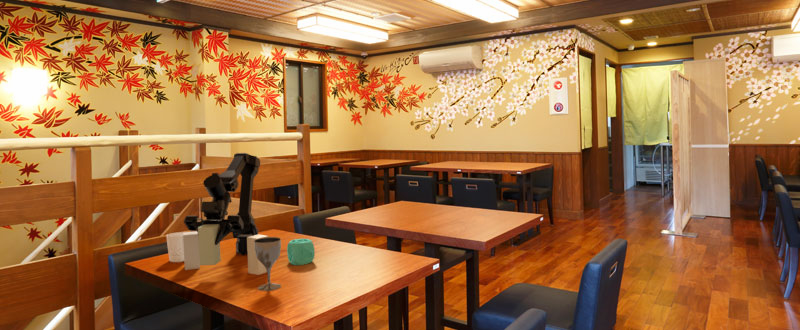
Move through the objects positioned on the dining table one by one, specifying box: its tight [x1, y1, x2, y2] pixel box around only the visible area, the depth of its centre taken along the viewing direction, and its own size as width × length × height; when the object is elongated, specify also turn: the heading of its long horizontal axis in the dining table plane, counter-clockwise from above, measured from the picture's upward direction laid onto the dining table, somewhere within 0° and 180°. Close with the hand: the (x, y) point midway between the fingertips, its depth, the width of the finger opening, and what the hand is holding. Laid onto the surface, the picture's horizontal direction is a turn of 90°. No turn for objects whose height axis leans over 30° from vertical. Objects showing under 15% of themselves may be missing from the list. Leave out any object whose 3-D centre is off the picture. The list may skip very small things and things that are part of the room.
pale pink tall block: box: [182, 231, 201, 271], centre depth 180 cm, size 5×5×12 cm
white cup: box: [165, 231, 184, 263], centre depth 190 cm, size 8×8×10 cm
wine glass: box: [254, 236, 282, 292], centre depth 155 cm, size 8×8×15 cm
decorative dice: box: [286, 238, 316, 266], centre depth 184 cm, size 8×8×8 cm
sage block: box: [198, 224, 222, 266], centre depth 166 cm, size 5×5×12 cm
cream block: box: [247, 233, 269, 276], centre depth 172 cm, size 5×5×12 cm
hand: (207, 244), depth 164 cm, fingers closed on sage block, 5 cm apart
